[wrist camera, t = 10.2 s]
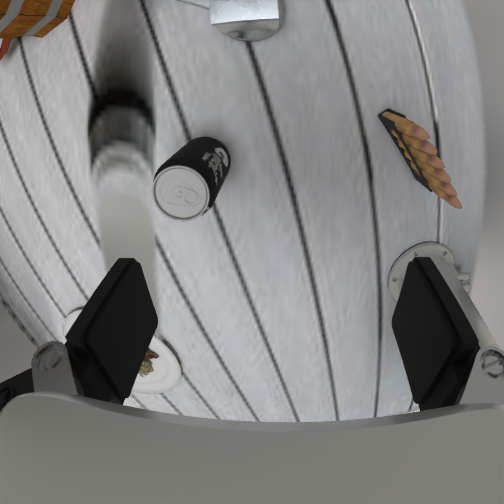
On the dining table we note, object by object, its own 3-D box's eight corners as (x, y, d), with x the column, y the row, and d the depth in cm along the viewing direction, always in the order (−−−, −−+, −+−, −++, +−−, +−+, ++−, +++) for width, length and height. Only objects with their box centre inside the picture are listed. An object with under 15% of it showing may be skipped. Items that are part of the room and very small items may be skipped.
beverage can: (191, 128, 36) (158, 151, 26) (239, 147, 37) (224, 178, 27) (175, 172, 39) (140, 210, 29) (219, 191, 40) (200, 235, 30)
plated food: (171, 399, 73) (169, 410, 70) (71, 359, 69) (66, 368, 66) (196, 337, 57) (192, 350, 54) (61, 283, 53) (53, 293, 50)
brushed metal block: (274, -15, 23) (273, -36, 17) (278, 29, 26) (278, 18, 20) (219, -11, 24) (206, -29, 18) (223, 33, 27) (210, 24, 21)
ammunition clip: (377, 115, 33) (417, 134, 23) (388, 107, 32) (431, 124, 22) (416, 179, 37) (457, 219, 27) (426, 172, 36) (469, 210, 26)
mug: (57, -48, 18) (-7, -64, 6) (97, -17, 23) (27, -37, 11) (-8, 45, 26) (-72, 58, 13) (22, 84, 31) (-48, 104, 19)
